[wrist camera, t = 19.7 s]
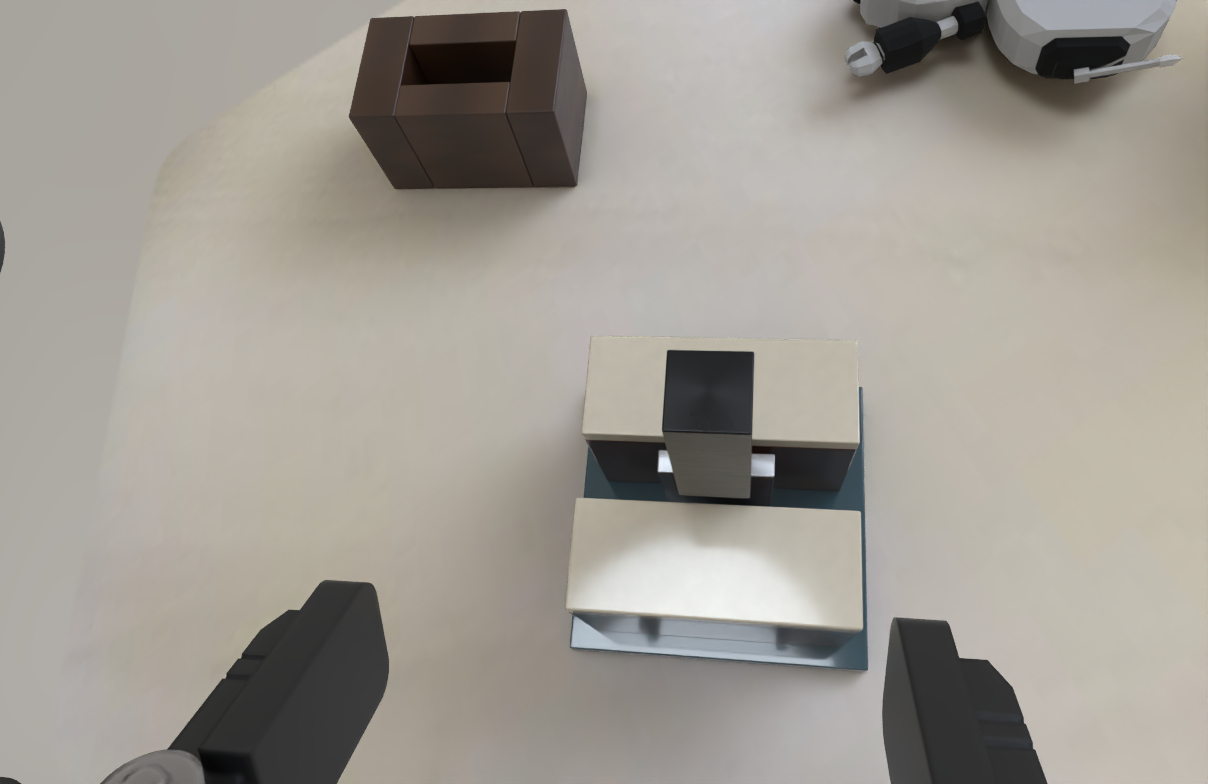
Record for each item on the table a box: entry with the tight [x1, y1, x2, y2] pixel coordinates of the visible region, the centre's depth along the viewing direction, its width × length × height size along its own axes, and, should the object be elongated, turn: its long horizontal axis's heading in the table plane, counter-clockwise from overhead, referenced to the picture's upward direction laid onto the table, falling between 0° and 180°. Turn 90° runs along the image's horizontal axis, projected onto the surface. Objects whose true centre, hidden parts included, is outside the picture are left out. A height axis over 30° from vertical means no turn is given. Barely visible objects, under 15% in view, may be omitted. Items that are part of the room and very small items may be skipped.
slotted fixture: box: [565, 336, 868, 672], centre depth 35 cm, size 12×12×8 cm
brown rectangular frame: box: [349, 9, 587, 188], centre depth 45 cm, size 10×6×6 cm, turn 85°
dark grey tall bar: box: [657, 350, 775, 507], centre depth 31 cm, size 4×2×15 cm, turn 85°
